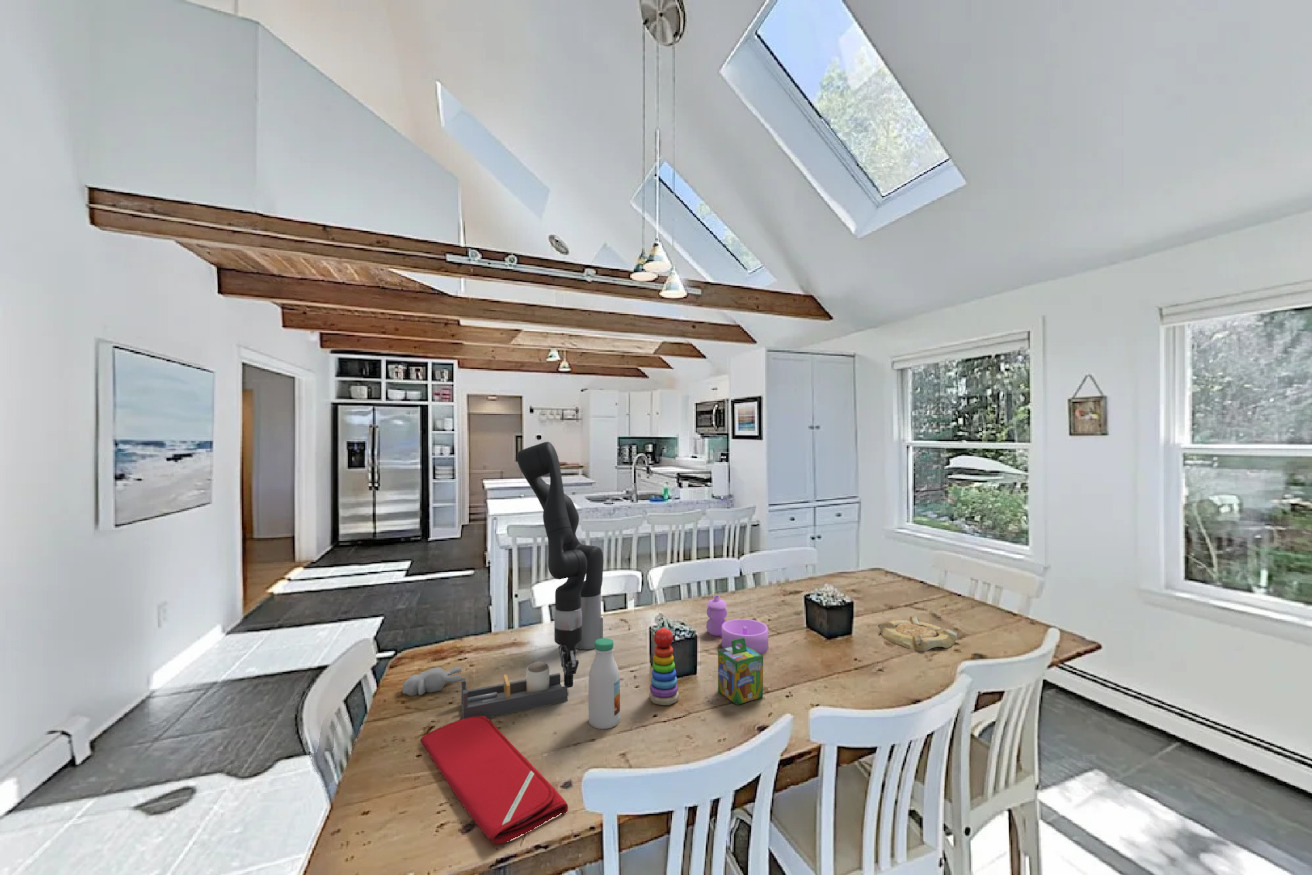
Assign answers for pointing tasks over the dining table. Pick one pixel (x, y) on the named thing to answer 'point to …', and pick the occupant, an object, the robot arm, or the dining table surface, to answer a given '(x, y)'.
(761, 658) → the chalk box
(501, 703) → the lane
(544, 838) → the dining table surface
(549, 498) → the robot arm
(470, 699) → the pusher
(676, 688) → the stacking toy
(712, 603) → the container set
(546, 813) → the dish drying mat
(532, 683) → the spice jar
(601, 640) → the milk bottle
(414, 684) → the bunny figurine
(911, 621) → the ashtray
